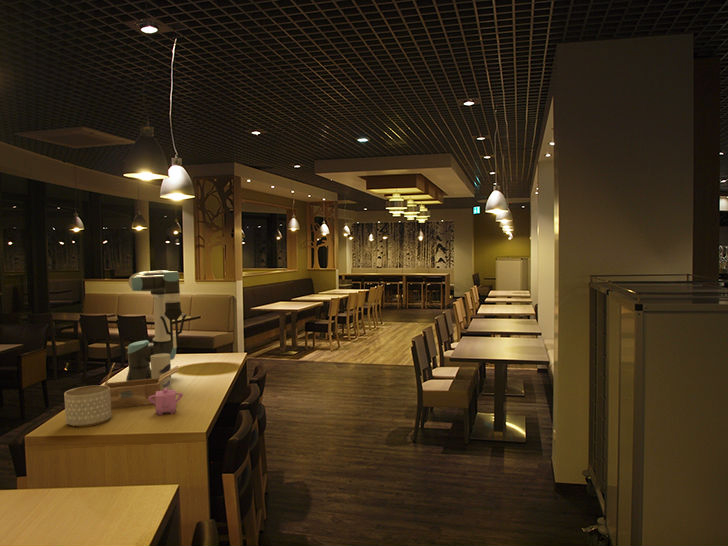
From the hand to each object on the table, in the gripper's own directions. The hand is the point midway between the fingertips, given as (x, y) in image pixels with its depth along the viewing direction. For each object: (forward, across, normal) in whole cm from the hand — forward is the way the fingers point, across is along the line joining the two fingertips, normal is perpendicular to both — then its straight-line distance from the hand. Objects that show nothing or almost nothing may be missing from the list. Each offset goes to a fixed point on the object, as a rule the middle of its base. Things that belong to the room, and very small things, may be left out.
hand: (175, 347), depth 296 cm
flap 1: (+16, -34, 0) cm, 37 cm away
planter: (+27, -38, -26) cm, 53 cm away
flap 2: (+16, -8, 0) cm, 18 cm away
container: (+27, -8, +19) cm, 33 cm away
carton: (+26, -21, 0) cm, 34 cm away
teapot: (+27, -5, -25) cm, 37 cm away
